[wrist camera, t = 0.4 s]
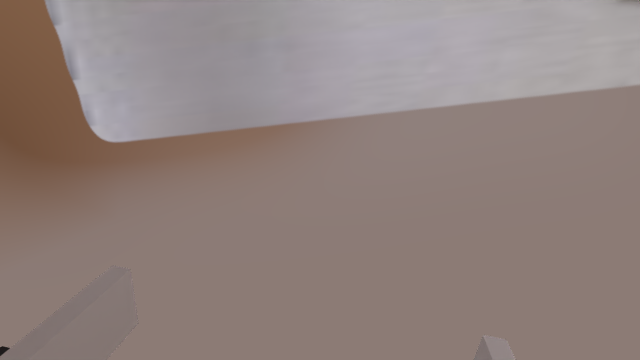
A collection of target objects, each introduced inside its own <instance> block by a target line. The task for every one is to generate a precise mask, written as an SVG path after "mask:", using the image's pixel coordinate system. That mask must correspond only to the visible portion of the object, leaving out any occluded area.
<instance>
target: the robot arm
mask: <svg viewBox="0 0 640 360" xmlns="http://www.w3.org/2000/svg"><path fill="white" fill-rule="evenodd" d="M137 324H138V317H137V310H136V303H135V296H134V289H133V282H132V276H131V269H128V268H123V267H118V266H111V267H110V268H109V269H108V270H106V271H105V272H104V273H103V274H102V275H100V276H99V277H98V278H96V279H95V280H94V281H93V282H91V283H90V284H89V285H88V286H87V287H85V288H84V289H83V290H82V291H80V292H79V293H78V294H77V295H76V296H74V297H73V298H72V299H70V300H69V301H68V302H67V303H65V304H64V305H63V306H62V307H61V308H59V309H58V310H57V311H56V312H54V313H53V314H52V315H51V316H50V317H48V318H47V319H46V320H45V321H43V322H42V323H41V324H40V325H38V326H37V327H36V328H35V329H33V330H32V331H31V332H30V333H29V334H27V335H26V336H25V337H24V338H22V339H21V340H20V341H19V342H17V343H16V344H15V345H14V346H12V347H11V348H7V347H3V346H2V347H0V360H107V359H108V358H109V356H110V355H111V354H112V353H113V352H114V351H115V350H116V348H117V347H118V346H119V345H120V344H121V343H122V342H123V340H124V339H125V338H126V337H127V336H128V335H129V333H130V332H131V331H132V330H133V329H134V328H135V327H136V326H137ZM474 360H516V359H515V357H514V355H513V353H512V351H511V349H510V347H509V345H508V342H507V340H506V339H500V338H495V337H490V336H485V335H483V337H482V339H481V342H480V345H479V347H478V350H477V352H476V355H475V358H474Z"/></svg>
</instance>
